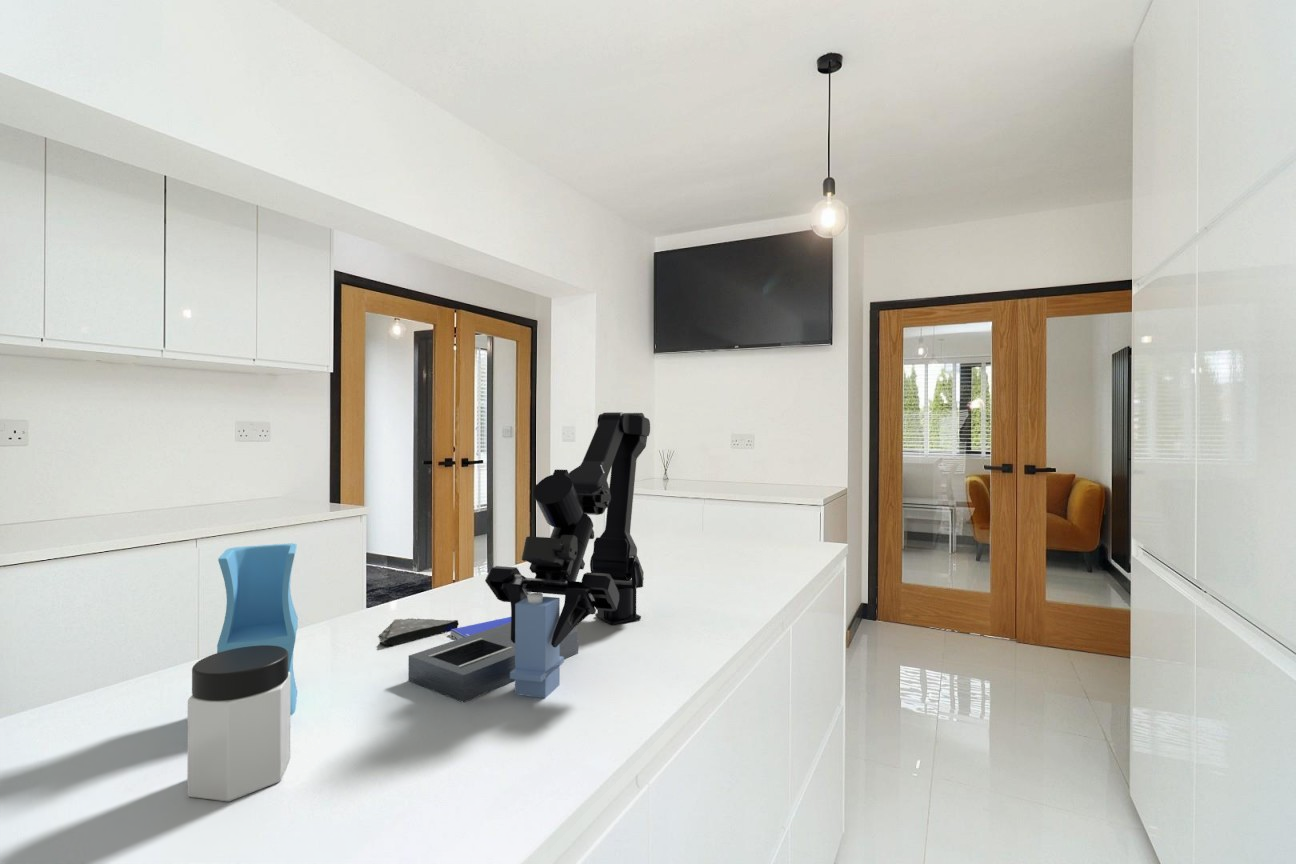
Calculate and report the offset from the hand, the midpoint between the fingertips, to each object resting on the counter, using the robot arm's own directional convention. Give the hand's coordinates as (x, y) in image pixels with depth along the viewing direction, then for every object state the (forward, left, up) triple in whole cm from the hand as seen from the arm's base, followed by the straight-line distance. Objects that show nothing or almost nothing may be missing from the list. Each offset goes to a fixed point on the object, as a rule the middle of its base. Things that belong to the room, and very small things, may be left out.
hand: (533, 643), depth 82 cm
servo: (-1, -1, -7) cm, 7 cm away
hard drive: (-4, -27, -7) cm, 29 cm away
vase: (+30, -14, -7) cm, 34 cm away
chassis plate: (0, -12, -7) cm, 14 cm away
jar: (+32, +3, -7) cm, 33 cm away
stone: (+7, -35, -7) cm, 37 cm away
